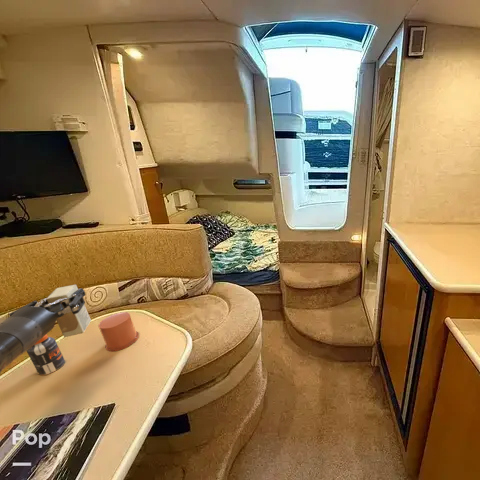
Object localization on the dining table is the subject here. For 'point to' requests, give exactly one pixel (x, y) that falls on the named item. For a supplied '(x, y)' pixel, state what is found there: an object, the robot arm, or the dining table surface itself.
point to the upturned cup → (118, 331)
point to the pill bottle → (46, 355)
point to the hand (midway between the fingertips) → (70, 293)
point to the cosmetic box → (70, 313)
